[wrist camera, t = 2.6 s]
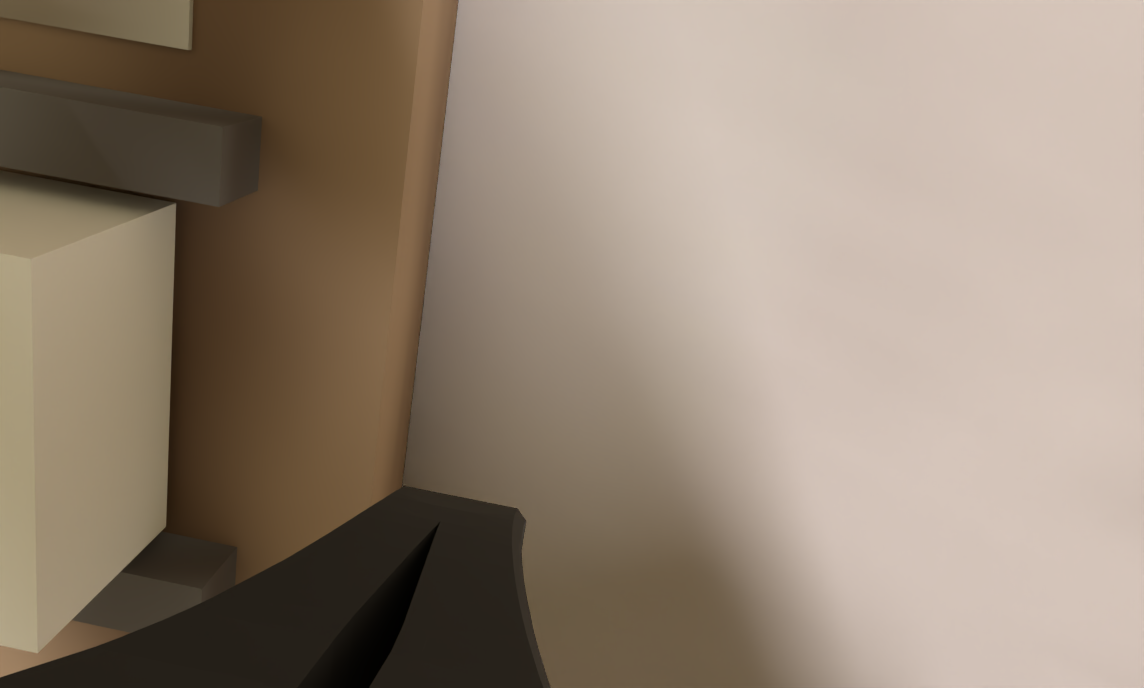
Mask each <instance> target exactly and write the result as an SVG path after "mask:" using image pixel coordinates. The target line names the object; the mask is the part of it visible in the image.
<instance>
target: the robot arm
mask: <svg viewBox="0 0 1144 688" xmlns="http://www.w3.org/2000/svg"><path fill="white" fill-rule="evenodd" d="M525 526H526V520H525V518H524V517H523V516H522V514H521V513H520V511H519V510H518V509H517V508H512V507H507V506H502V505H497V504H492V503H487V502H482V501H477V500H472V499H467V498H462V497H457V496H451V495H446V494H441V493H436V492H431V491H426V490H421V489H416V488H411V487H406V486H403V487H401V488H400V489H398V490H396V491H395V492H393V493H391V494H390V495H388V496H387V497H385V498H383V499H382V500H380V501H379V502H377V503H375V504H374V505H372V506H371V507H369V508H367V509H366V510H364V511H363V512H361V513H360V514H358V515H356V516H355V517H353V518H352V519H350V520H349V521H347V522H345V523H344V524H342V525H341V526H339V527H337V528H336V529H334V530H333V531H331V532H330V533H328V534H326V535H325V536H323V537H321V538H320V539H318V540H316V541H315V542H313V543H311V544H310V545H308V546H306V547H305V548H303V549H301V550H300V551H298V552H296V553H295V554H293V555H291V556H290V557H288V558H286V559H284V560H283V561H281V562H279V563H277V564H275V565H273V566H271V567H269V568H267V569H265V570H264V571H262V572H260V573H258V574H256V575H254V576H252V577H250V578H248V579H246V580H245V581H243V582H241V583H239V584H237V585H235V586H233V587H231V588H229V589H227V590H226V591H224V592H222V593H220V594H218V595H216V596H214V597H212V598H210V599H208V600H206V601H204V602H202V603H200V604H197V605H195V606H193V607H191V608H189V609H187V610H184V611H182V612H180V613H178V614H175V615H173V616H171V617H169V618H166V619H164V620H161V621H159V622H157V623H154V624H152V625H149V626H147V627H144V628H142V629H139V630H137V631H134V632H132V633H129V634H127V635H124V636H122V637H119V638H117V639H114V640H112V641H109V642H106V643H104V644H101V645H98V646H96V647H93V648H90V649H86V650H83V651H80V652H77V653H74V654H71V655H68V656H65V657H62V658H59V659H56V660H52V661H49V662H46V663H43V664H40V665H37V666H34V667H31V668H28V669H25V670H21V671H18V672H15V673H12V674H9V675H6V676H3V677H0V688H550V685H549V682H548V679H547V676H546V672H545V669H544V666H543V663H542V659H541V656H540V653H539V650H538V646H537V642H536V638H535V634H534V630H533V626H532V621H531V616H530V611H529V607H528V602H527V597H526V592H525V585H524V578H523V567H522V552H521V550H522V544H523V538H524V532H525Z"/></svg>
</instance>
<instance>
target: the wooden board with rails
mask: <svg viewBox="0 0 1144 688" xmlns="http://www.w3.org/2000/svg"><path fill="white" fill-rule="evenodd" d="M457 8H458V0H0V170H2V171H7V172H12V173H18V174H23V175H29V176H34V177H39V178H45V179H50V180H55V181H61V182H66V183H72V184H77V185H82V186H88V187H93V188H98V189H104V190H109V191H115V192H120V193H125V194H131V195H136V196H141V197H147V198H152V199H158V200H163V201H168V202H174V203H176V225H175V257H174V289H173V321H172V353H171V385H170V417H169V449H168V482H167V514H166V527H165V528H164V529H163V530H162V531H161V532H160V533H159V534H158V535H157V536H156V537H155V538H154V539H153V540H152V541H151V542H150V543H149V544H148V545H147V546H146V547H145V548H144V549H143V550H142V551H141V552H140V553H139V554H138V555H137V556H136V557H135V558H134V559H133V560H132V561H131V562H130V563H129V564H128V565H127V566H126V567H125V568H124V569H123V570H122V571H121V572H120V573H119V574H118V575H117V576H116V577H115V578H114V579H113V580H112V581H111V582H109V583H108V584H107V585H106V586H105V587H104V588H103V589H102V590H101V591H100V592H99V593H98V594H97V595H96V596H95V597H94V598H93V599H92V600H91V601H90V602H89V603H88V604H87V605H86V606H85V607H84V608H83V609H82V610H81V611H80V612H79V613H78V614H77V615H76V616H75V617H74V618H73V619H72V620H71V621H70V622H69V623H68V624H67V625H66V626H65V627H64V628H63V629H62V630H61V631H60V632H59V633H58V634H57V635H56V636H55V637H54V638H53V639H52V640H51V641H50V642H49V643H48V644H47V645H46V646H45V647H44V648H43V649H42V650H41V651H40V652H39V653H34V652H29V651H24V650H20V649H15V648H10V647H6V646H1V645H0V677H3V676H6V675H9V674H12V673H15V672H18V671H21V670H25V669H28V668H31V667H34V666H37V665H40V664H43V663H46V662H49V661H52V660H56V659H59V658H62V657H65V656H68V655H71V654H74V653H77V652H80V651H83V650H86V649H90V648H93V647H96V646H98V645H101V644H104V643H106V642H109V641H112V640H114V639H117V638H119V637H122V636H124V635H127V634H129V633H132V632H134V631H137V630H139V629H142V628H144V627H147V626H149V625H152V624H154V623H157V622H159V621H161V620H164V619H166V618H169V617H171V616H173V615H175V614H178V613H180V612H182V611H184V610H187V609H189V608H191V607H193V606H195V605H197V604H200V603H202V602H204V601H206V600H208V599H210V598H212V597H214V596H216V595H218V594H220V593H222V592H224V591H226V590H227V589H229V588H231V587H233V586H235V585H237V584H239V583H241V582H243V581H245V580H246V579H248V578H250V577H252V576H254V575H256V574H258V573H260V572H262V571H264V570H265V569H267V568H269V567H271V566H273V565H275V564H277V563H279V562H281V561H283V560H284V559H286V558H288V557H290V556H291V555H293V554H295V553H296V552H298V551H300V550H301V549H303V548H305V547H306V546H308V545H310V544H311V543H313V542H315V541H316V540H318V539H320V538H321V537H323V536H325V535H326V534H328V533H330V532H331V531H333V530H334V529H336V528H337V527H339V526H341V525H342V524H344V523H345V522H347V521H349V520H350V519H352V518H353V517H355V516H356V515H358V514H360V513H361V512H363V511H364V510H366V509H367V508H369V507H371V506H372V505H374V504H375V503H377V502H379V501H380V500H382V499H383V498H385V497H387V496H388V495H390V494H391V493H393V492H395V491H396V490H398V489H400V488H401V487H402V482H403V473H404V465H405V456H406V448H407V439H408V430H409V422H410V413H411V404H412V396H413V387H414V379H415V370H416V361H417V353H418V344H419V335H420V327H421V318H422V310H423V301H424V292H425V284H426V275H427V266H428V258H429V249H430V241H431V232H432V223H433V215H434V206H435V197H436V189H437V180H438V172H439V163H440V154H441V146H442V137H443V129H444V120H445V111H446V103H447V94H448V85H449V77H450V68H451V60H452V51H453V42H454V34H455V25H456V16H457Z"/></svg>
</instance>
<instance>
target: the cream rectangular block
mask: <svg viewBox="0 0 1144 688" xmlns="http://www.w3.org/2000/svg"><path fill="white" fill-rule="evenodd" d="M175 225H176V203H174V202H168V201H163V200H158V199H152V198H147V197H141V196H136V195H131V194H125V193H120V192H115V191H109V190H104V189H98V188H93V187H88V186H82V185H77V184H72V183H66V182H61V181H55V180H50V179H45V178H39V177H34V176H29V175H23V174H18V173H12V172H7V171H2V170H0V645H1V646H6V647H10V648H15V649H20V650H24V651H29V652H34V653H39V652H40V651H41V650H42V649H43V648H44V647H45V646H46V645H47V644H48V643H49V642H50V641H51V640H52V639H53V638H54V637H55V636H56V635H57V634H58V633H59V632H60V631H61V630H62V629H63V628H64V627H65V626H66V625H67V624H68V623H69V622H70V621H71V620H72V619H73V618H74V617H75V616H76V615H77V614H78V613H79V612H80V611H81V610H82V609H83V608H84V607H85V606H86V605H87V604H88V603H89V602H90V601H91V600H92V599H93V598H94V597H95V596H96V595H97V594H98V593H99V592H100V591H101V590H102V589H103V588H104V587H105V586H106V585H107V584H108V583H109V582H111V581H112V580H113V579H114V578H115V577H116V576H117V575H118V574H119V573H120V572H121V571H122V570H123V569H124V568H125V567H126V566H127V565H128V564H129V563H130V562H131V561H132V560H133V559H134V558H135V557H136V556H137V555H138V554H139V553H140V552H141V551H142V550H143V549H144V548H145V547H146V546H147V545H148V544H149V543H150V542H151V541H152V540H153V539H154V538H155V537H156V536H157V535H158V534H159V533H160V532H161V531H162V530H163V529H164V528H165V527H166V514H167V482H168V449H169V417H170V385H171V353H172V321H173V289H174V257H175Z"/></svg>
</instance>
